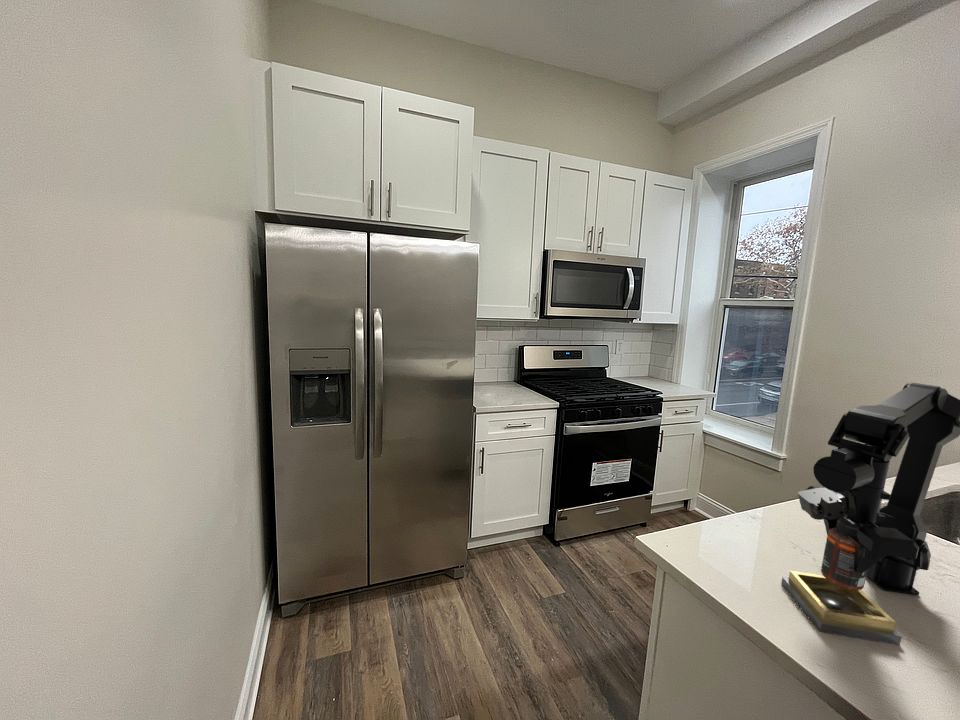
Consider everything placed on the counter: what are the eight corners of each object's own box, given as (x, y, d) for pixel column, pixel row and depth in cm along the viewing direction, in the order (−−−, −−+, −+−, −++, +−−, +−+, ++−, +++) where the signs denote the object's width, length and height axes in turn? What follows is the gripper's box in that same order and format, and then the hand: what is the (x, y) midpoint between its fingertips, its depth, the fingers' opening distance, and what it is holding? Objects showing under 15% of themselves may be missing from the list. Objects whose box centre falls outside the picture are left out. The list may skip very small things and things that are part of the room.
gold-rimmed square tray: (848, 593, 79) (851, 577, 78) (899, 645, 67) (904, 626, 66) (781, 583, 81) (784, 567, 80) (819, 631, 69) (823, 613, 68)
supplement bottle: (872, 595, 69) (885, 536, 68) (833, 589, 71) (845, 531, 69) (848, 572, 75) (859, 517, 73) (812, 567, 76) (823, 513, 75)
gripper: (781, 455, 80) (769, 526, 83) (847, 501, 62) (830, 590, 65) (843, 461, 78) (830, 533, 81) (931, 510, 60) (910, 601, 63)
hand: (845, 560), depth 72 cm, fingers closed on supplement bottle, 6 cm apart
